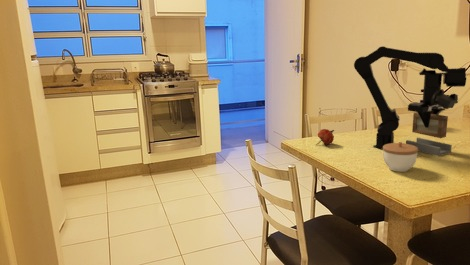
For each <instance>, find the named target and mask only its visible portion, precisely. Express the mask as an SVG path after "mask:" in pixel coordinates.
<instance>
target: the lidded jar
mask: <svg viewBox="0 0 470 265" xmlns="http://www.w3.org/2000/svg"><path fill="white" fill-rule="evenodd" d="M418 152H419V151H418V148H417V147H416V146H414V145H410V144H406V142H404V143H403V142H394V143H390V144H386V145H384V146H383V149H382V157H383V161H384V163H385V165H386V166H387V167H388V168H389V170H390V171H393V172H399V173H404V172H408V171H409V170H410V169H411V168H413V167H414V165H415V164H416V162H417V159H418Z"/></svg>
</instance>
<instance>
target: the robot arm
mask: <svg viewBox="0 0 470 265" xmlns="http://www.w3.org/2000/svg"><path fill="white" fill-rule="evenodd" d="M382 58H387V59H393V60H399V61H405V62H410V63H414V64H418V65H420V66H423V69H422V70H420V72H418V75H419V76H424V79H423V88H422V89H420V93H422V99H420V100H419V102H417V101H416V102H410V103H408V105H407V111H408V112H409V111H410V112H413V113H415V112H418V114H419V116H420V117H421V119H422V122H423V124H424V126H425V127H426V128H428V126H429V122H430V116H431V114H436V115H440V113H441V112H443V111H445V110H448V109H453V108H454V106H455V104H458V100H459V98H458V96H459V95H458V94H456V93H451V94H445V90H444V89H442V84H443V85H445V87H449V88H453V87H456V88H458V87H459V88H462V87H464V88H465V86H466V83H467V73H466V67H459V68H449V67H448V66H447V65H446V64H445V58H444V56H443V55H442V53H439V52H414V51H409V50H408V51H407V50H402V49H398V48H391V47H386V46H379V47H378V48H377V49H376V50H374V51H372V52H370V53H369V54H368V55H366V56H360V57H358V58H356V59H355V60H354V63H353V67H354V69H355V71H356V72H357V73H358V75H359V76H360V78H362V80H364V82H365V84H366V87H367V88H368V90H369V92H370V95H371V97H372V99H373V100H374V103H375V104H376V107H377V109H378V111H379V113H380V114H379V115H380V120H381V122H380V123H379V125H377V130H376V131H377V132H376V141H375V142H376V143H375V144H374V145H372V148H377V149H380V150H383V146H384V145H386V144H390V143H395V133H394V132H395V131H396V130H398V128H399V126H400V115H398V113H397V109H396V108H393V109H391V107H390V106H389V105H388V104H389V103H388V101H387V100H386V99H385V95H384V94H383V91H382V90H381V88H380V86H379V83H378V82H377V80H376V78H375V75H374V71H373V67H372V64H374V63H375V62H377V61H379V60H380V59H382ZM426 68H428V69H429V70H428V69H426ZM436 70H439V71H441V72H437V71H436ZM428 105H429V106H428Z"/></svg>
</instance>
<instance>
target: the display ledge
mask: <svg viewBox="0 0 470 265" xmlns="http://www.w3.org/2000/svg"><path fill="white" fill-rule="evenodd" d="M405 144H410V145H414V146H416V147H417V148H418V152H421V153H426V154H429V155H434V156H436V157H437V156H438V157H439V156H444V155H446V154H450V153H452V149H453V148H452V144H448V143H445V142H441V141H436V140H431V139H427V138H421V137H416V141H415V140H409V139H406V140H405Z"/></svg>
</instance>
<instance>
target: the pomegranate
mask: <svg viewBox="0 0 470 265" xmlns="http://www.w3.org/2000/svg"><path fill="white" fill-rule="evenodd" d="M333 132H335V129H332V130H330V129H326V128H322V129H320V130H319V131H318V133H317V137H318V138H319V139H320V140H319V141H318V142H317V143H316V144H315V146H318V144H320V143H321V142H322V144H325V145H326V146H330V145H331V144H333V142H334V139H335V138H334V137H335V136H334V134H333Z"/></svg>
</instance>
